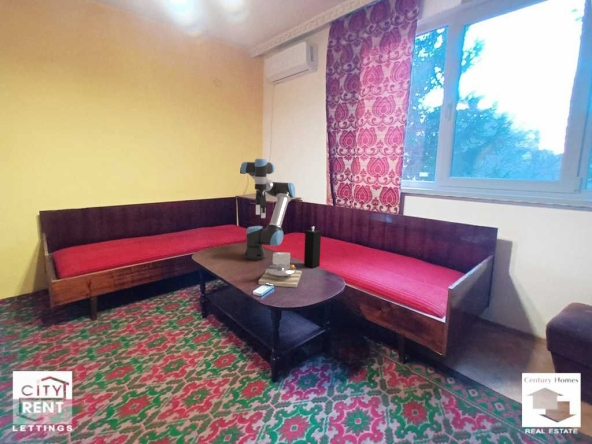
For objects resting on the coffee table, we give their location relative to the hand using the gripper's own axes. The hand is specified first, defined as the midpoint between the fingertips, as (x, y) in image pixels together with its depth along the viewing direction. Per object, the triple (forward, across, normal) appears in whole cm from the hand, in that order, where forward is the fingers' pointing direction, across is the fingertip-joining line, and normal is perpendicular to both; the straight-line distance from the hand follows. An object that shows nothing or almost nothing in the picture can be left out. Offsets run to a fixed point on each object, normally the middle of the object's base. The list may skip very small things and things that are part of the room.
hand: (260, 216), depth 191 cm
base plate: (+35, -25, -7) cm, 43 cm away
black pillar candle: (+35, -8, -34) cm, 50 cm away
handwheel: (+29, -25, -7) cm, 39 cm away
